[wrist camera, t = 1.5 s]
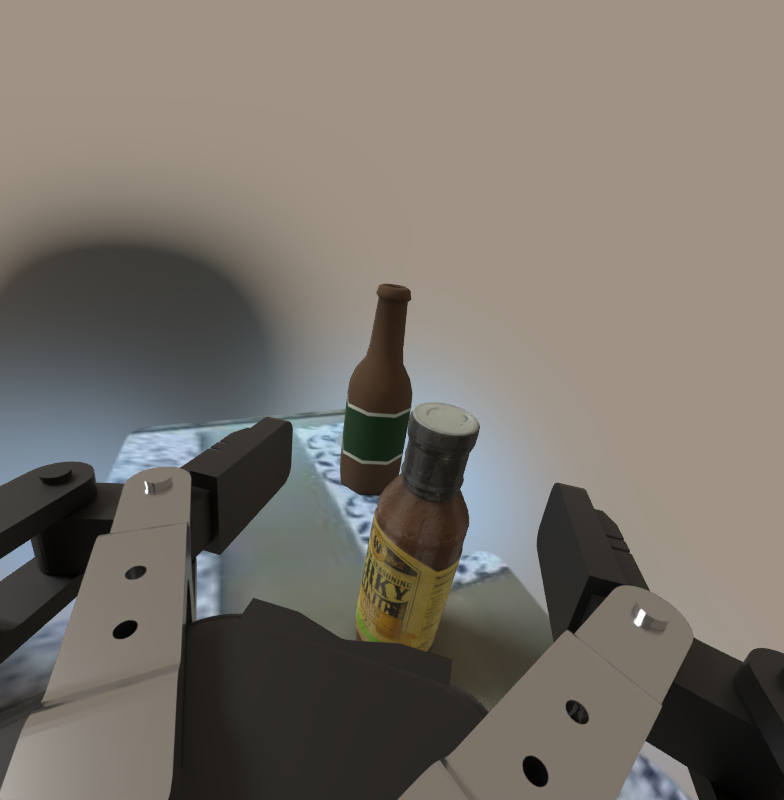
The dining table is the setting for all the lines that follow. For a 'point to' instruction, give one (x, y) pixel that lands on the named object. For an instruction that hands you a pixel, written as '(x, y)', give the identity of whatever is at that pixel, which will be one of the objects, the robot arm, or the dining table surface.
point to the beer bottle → (378, 401)
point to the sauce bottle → (418, 531)
